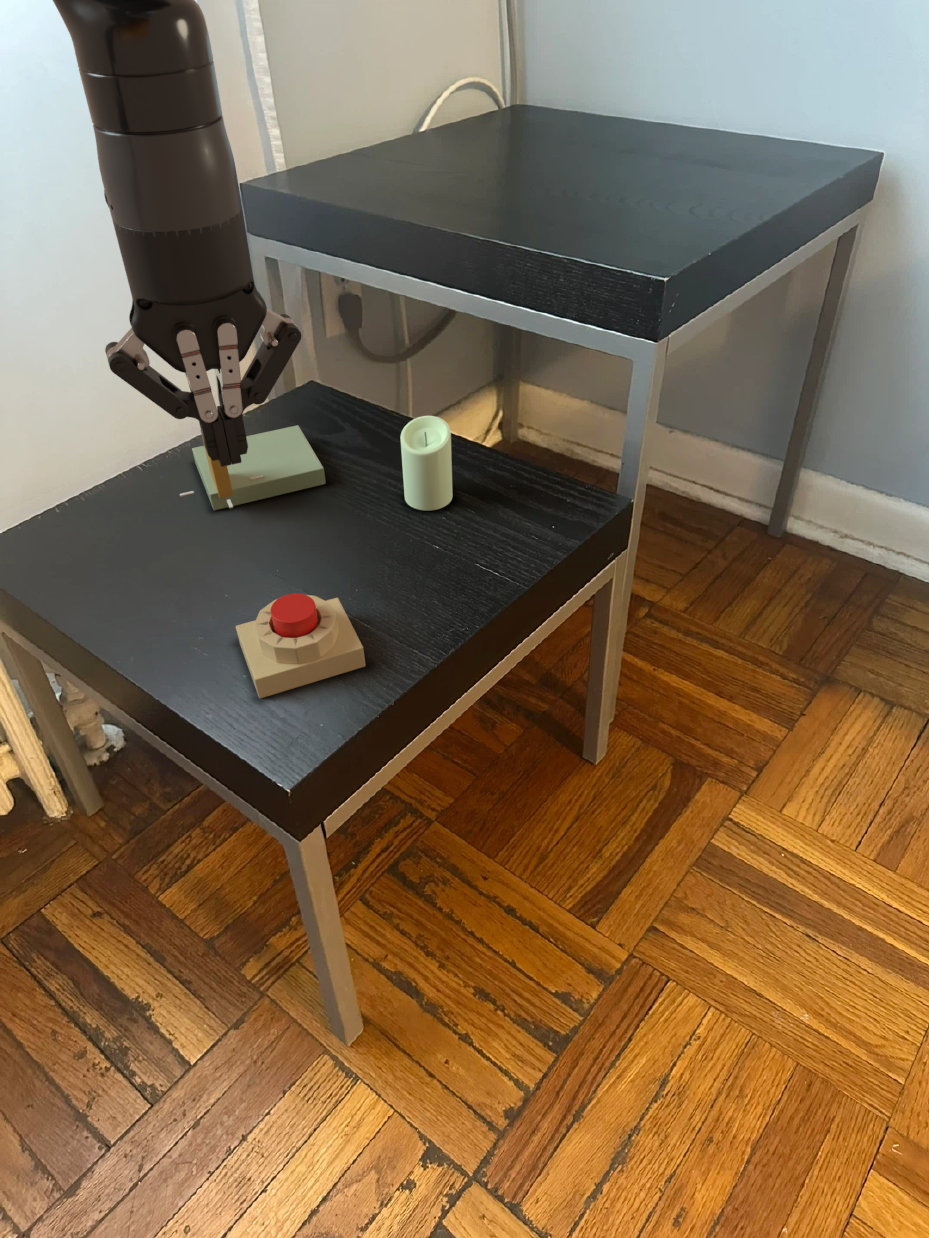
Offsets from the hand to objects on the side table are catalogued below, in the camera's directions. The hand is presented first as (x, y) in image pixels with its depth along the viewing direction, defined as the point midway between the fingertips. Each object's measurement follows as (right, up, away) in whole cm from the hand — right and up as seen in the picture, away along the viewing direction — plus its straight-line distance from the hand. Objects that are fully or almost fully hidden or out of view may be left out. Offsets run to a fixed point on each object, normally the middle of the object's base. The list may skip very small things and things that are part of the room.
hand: (229, 459), depth 63 cm
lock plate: (-6, +3, +31) cm, 31 cm away
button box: (+3, -15, +11) cm, 19 cm away
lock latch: (-8, +2, +27) cm, 28 cm away
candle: (+13, +1, +28) cm, 31 cm away
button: (+3, -12, +8) cm, 15 cm away
